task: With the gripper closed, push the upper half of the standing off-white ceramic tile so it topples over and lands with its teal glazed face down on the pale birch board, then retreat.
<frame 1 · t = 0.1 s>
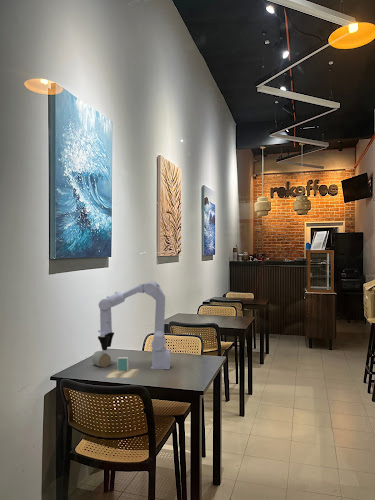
hand: (106, 348, 207), 10 cm above the table, fingers open, 7 cm apart
board: (123, 374, 194), on the table
ceramic mug: (104, 366, 211), on the table
tile: (123, 370, 198), point 1 cm above the table, touching board
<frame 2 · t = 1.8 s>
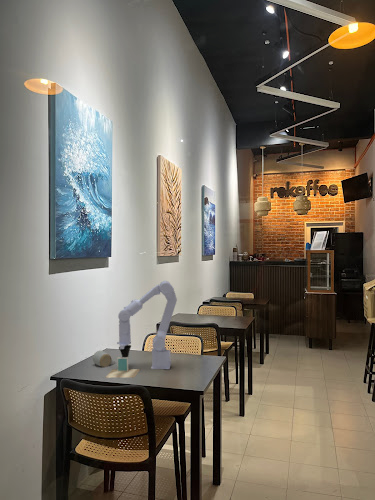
hand: (125, 360, 204), 4 cm above the table, fingers closed
nothing on the table moved.
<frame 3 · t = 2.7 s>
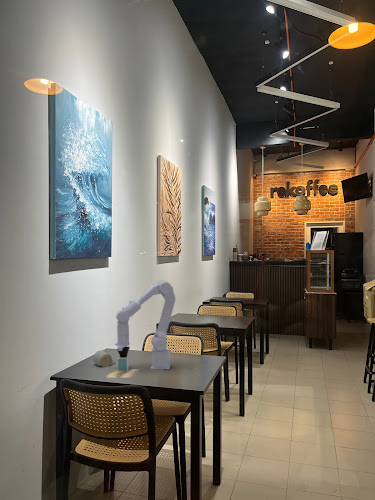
hand: (123, 362, 200), 4 cm above the table, fingers closed
nothing on the table moved.
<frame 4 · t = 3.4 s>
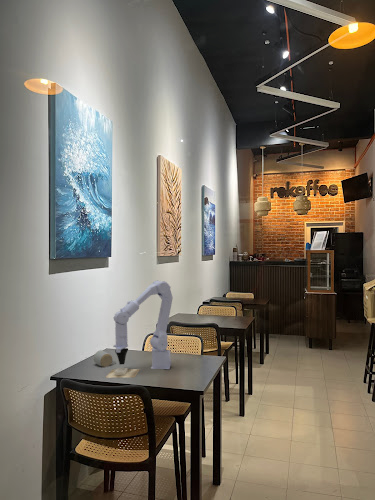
hand: (122, 364, 197), 4 cm above the table, fingers closed
tile: (122, 369, 198), point 2 cm above the table, tilted 90°, touching board
everything else where it was.
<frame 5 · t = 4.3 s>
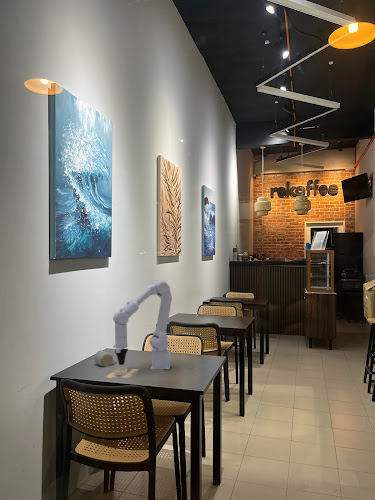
hand: (121, 364, 196), 4 cm above the table, fingers closed
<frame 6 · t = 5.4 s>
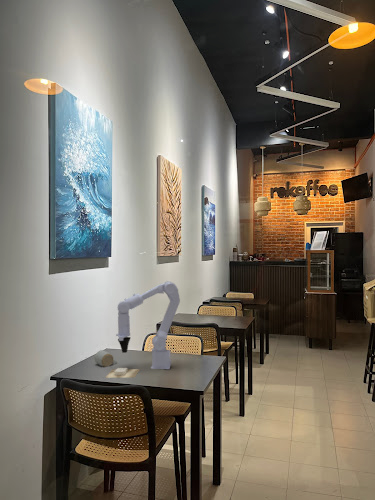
hand: (124, 352, 203), 9 cm above the table, fingers closed
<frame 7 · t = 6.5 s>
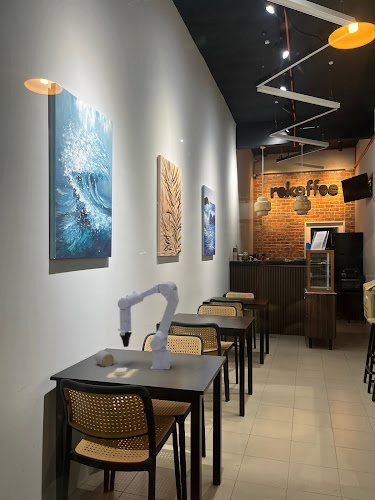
hand: (126, 346, 211), 10 cm above the table, fingers closed
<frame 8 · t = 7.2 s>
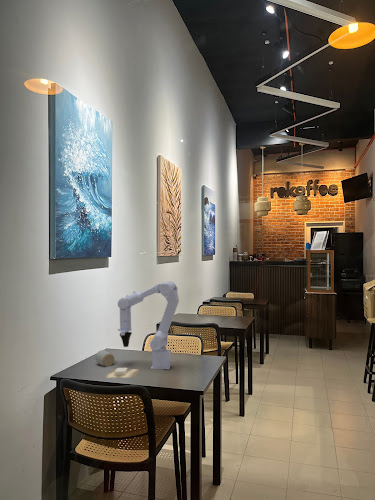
hand: (126, 346, 211), 10 cm above the table, fingers closed
at the end: tile tilted 90°; tile inside the target area (3.6 cm from its centre), point 1.5 cm above the table; tile touching board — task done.
